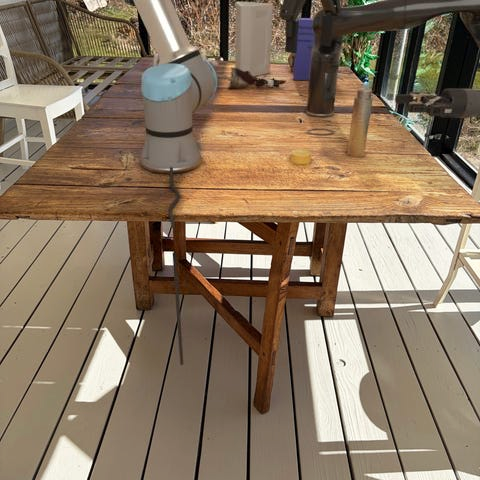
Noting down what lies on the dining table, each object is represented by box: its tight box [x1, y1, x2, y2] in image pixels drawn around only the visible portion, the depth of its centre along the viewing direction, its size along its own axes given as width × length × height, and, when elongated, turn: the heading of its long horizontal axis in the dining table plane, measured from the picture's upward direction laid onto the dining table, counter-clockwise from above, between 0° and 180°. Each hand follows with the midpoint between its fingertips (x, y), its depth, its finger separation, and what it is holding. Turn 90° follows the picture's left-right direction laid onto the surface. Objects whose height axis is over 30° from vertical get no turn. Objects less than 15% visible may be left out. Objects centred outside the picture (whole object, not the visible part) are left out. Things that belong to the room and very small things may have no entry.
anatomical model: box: [287, 53, 295, 72], centre depth 221 cm, size 13×9×15 cm
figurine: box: [216, 66, 287, 89], centre depth 190 cm, size 24×8×30 cm
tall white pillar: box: [234, 1, 274, 77], centre depth 210 cm, size 19×15×28 cm
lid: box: [290, 148, 312, 165], centre depth 125 cm, size 5×5×2 cm
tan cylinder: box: [346, 87, 374, 158], centre depth 126 cm, size 5×5×17 cm
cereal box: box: [292, 17, 315, 81], centre depth 201 cm, size 17×5×24 cm, turn 86°
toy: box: [153, 52, 219, 68], centre depth 223 cm, size 24×25×7 cm
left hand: (308, 49), depth 112 cm, fingers open, 13 cm apart
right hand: (402, 103), depth 125 cm, fingers open, 8 cm apart
